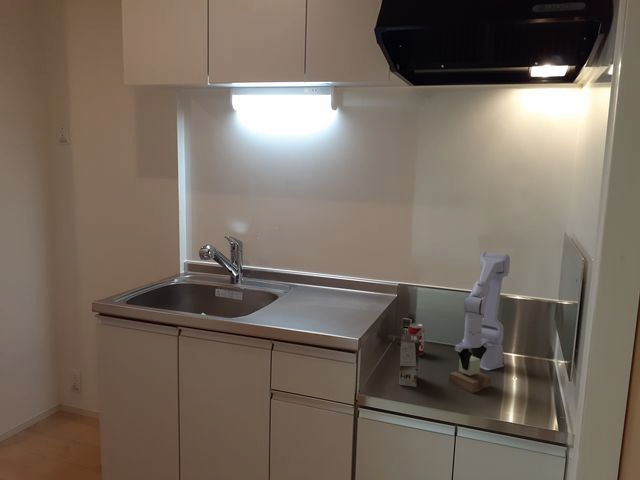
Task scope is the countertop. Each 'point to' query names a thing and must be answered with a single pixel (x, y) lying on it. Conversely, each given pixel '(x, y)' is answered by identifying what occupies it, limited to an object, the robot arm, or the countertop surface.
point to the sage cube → (471, 366)
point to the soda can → (420, 331)
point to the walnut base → (469, 381)
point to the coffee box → (409, 360)
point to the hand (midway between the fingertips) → (470, 367)
